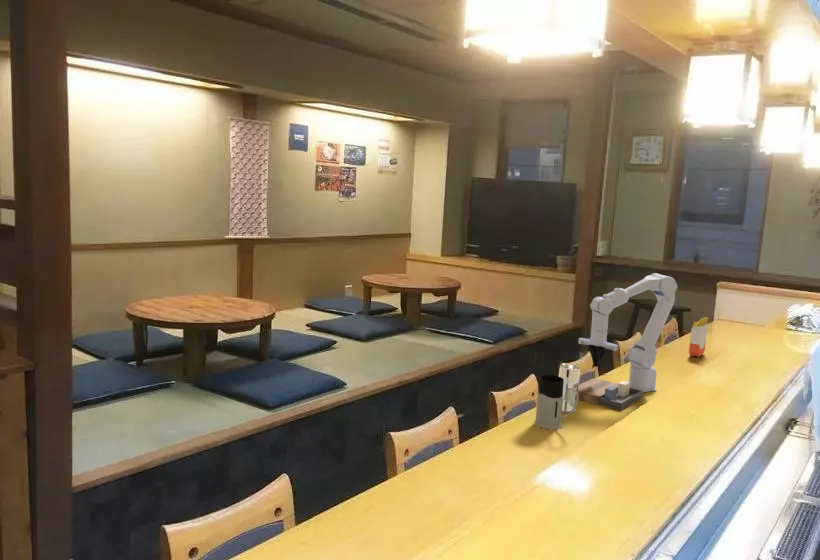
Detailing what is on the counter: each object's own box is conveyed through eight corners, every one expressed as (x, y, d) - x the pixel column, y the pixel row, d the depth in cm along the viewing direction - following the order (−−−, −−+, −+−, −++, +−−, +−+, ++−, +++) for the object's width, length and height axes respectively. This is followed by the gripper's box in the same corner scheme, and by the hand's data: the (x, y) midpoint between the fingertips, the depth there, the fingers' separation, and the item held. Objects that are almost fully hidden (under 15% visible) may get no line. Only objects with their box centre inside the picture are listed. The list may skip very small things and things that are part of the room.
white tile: (618, 383, 246) (625, 384, 244) (623, 380, 249) (630, 382, 247) (617, 395, 246) (624, 397, 245) (622, 392, 250) (628, 394, 248)
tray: (599, 404, 238) (600, 398, 237) (622, 392, 253) (622, 386, 253) (621, 410, 233) (621, 403, 233) (642, 397, 248) (643, 390, 248)
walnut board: (568, 397, 245) (569, 389, 245) (592, 385, 260) (593, 377, 260) (599, 404, 238) (599, 396, 237) (621, 392, 253) (622, 384, 253)
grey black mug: (544, 417, 222) (547, 372, 220) (582, 430, 212) (586, 383, 210) (528, 423, 216) (531, 377, 214) (567, 436, 206) (571, 388, 204)
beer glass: (577, 414, 227) (581, 370, 225) (556, 412, 228) (559, 368, 226) (576, 407, 234) (580, 365, 232) (555, 405, 235) (559, 363, 233)
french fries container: (687, 356, 312) (691, 318, 310) (694, 352, 321) (698, 314, 318) (697, 358, 310) (702, 319, 307) (704, 354, 318) (708, 316, 316)
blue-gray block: (605, 388, 238) (612, 390, 237) (610, 385, 242) (617, 387, 240) (604, 401, 239) (610, 402, 237) (609, 398, 242) (616, 399, 241)
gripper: (576, 328, 252) (573, 364, 254) (613, 335, 243) (610, 372, 245) (584, 325, 258) (581, 360, 259) (621, 332, 249) (618, 368, 251)
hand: (596, 366), depth 253 cm, fingers closed
